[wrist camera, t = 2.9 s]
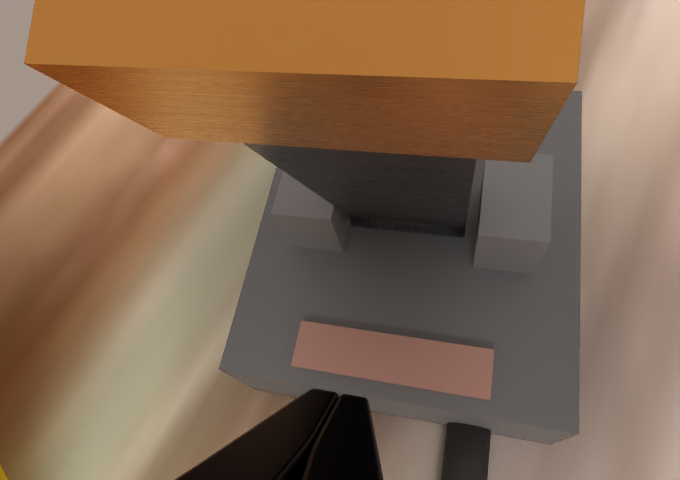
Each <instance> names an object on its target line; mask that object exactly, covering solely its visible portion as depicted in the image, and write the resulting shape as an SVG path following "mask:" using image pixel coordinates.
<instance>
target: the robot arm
mask: <svg viewBox="0 0 680 480" xmlns="http://www.w3.org/2000/svg"><path fill="white" fill-rule="evenodd" d="M175 480H383V475H382V470H381V464H380V459H379V454H378V448H377V443H376V438H375V432H374V427H373V422H372V416H371V411H370V405H369V401H368V399H367V398H365V397H360V396H355V395H349V394H342V395H340V396H339V395H338V393H337V392H333V391H327V390H322V389H315V388H314V389H310V390H309V391H307V392H306V393H304V394H303V395H301V396H300V397H298V398H297V399H295V400H294V401H292V402H291V403H289V404H288V405H286V406H285V407H283V408H282V409H280V410H279V411H277V412H276V413H274V414H273V415H271V416H270V417H268V418H267V419H265V420H264V421H262V422H261V423H259V424H258V425H256V426H255V427H253V428H252V429H250V430H249V431H247V432H246V433H244V434H243V435H241V436H240V437H238V438H237V439H235V440H234V441H232V442H231V443H229V444H228V445H226V446H225V447H223V448H222V449H220V450H219V451H217V452H216V453H214V454H213V455H211V456H210V457H208V458H207V459H205V460H204V461H202V462H201V463H199V464H198V465H196V466H195V467H193V468H192V469H190V470H189V471H187V472H186V473H184V474H183V475H181V476H180V477H178V478H177V479H175Z"/></svg>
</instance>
